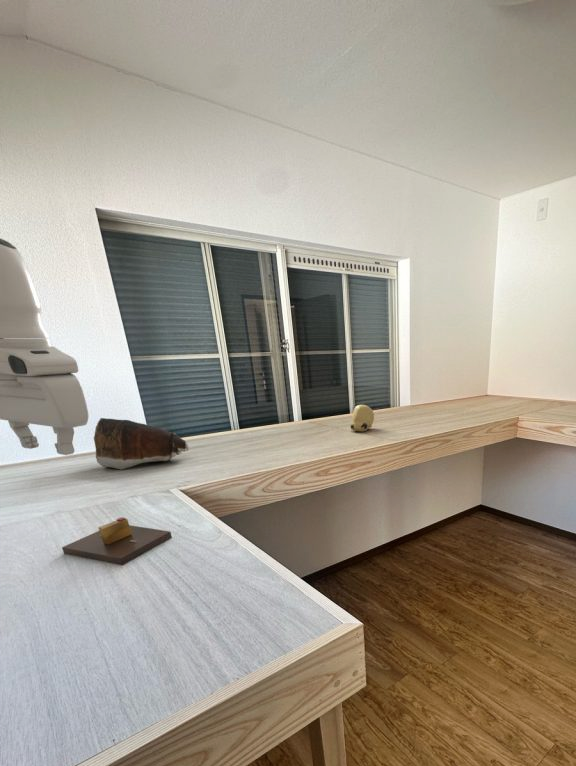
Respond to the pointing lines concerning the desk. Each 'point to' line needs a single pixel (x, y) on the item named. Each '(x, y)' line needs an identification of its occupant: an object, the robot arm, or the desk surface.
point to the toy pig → (362, 418)
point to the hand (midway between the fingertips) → (48, 450)
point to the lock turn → (115, 531)
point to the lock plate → (118, 545)
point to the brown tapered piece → (134, 443)
